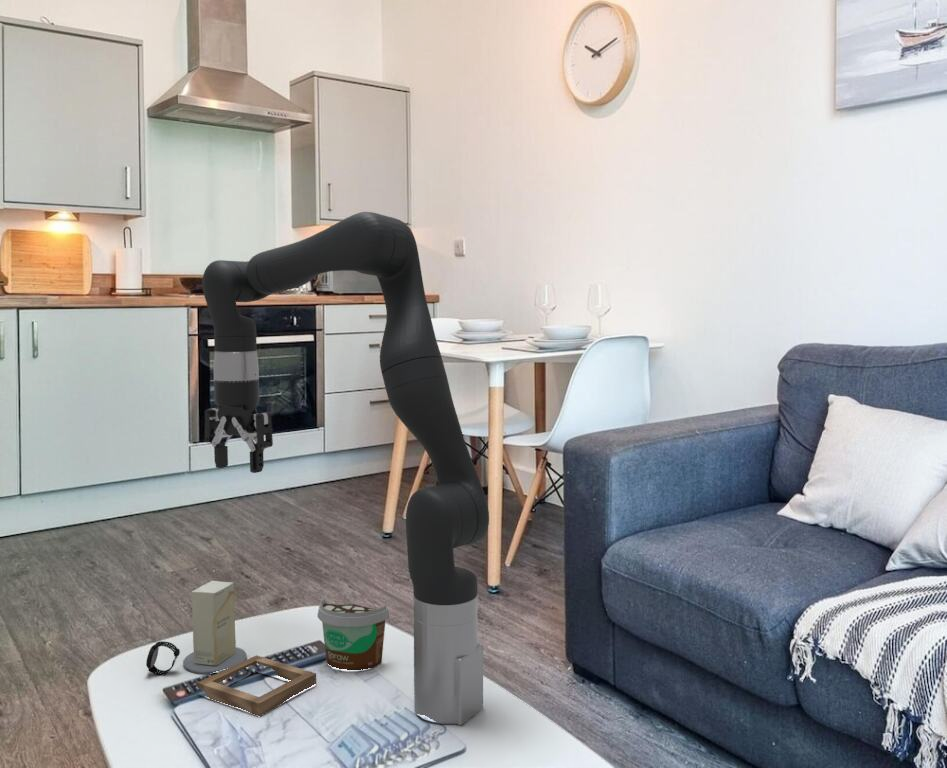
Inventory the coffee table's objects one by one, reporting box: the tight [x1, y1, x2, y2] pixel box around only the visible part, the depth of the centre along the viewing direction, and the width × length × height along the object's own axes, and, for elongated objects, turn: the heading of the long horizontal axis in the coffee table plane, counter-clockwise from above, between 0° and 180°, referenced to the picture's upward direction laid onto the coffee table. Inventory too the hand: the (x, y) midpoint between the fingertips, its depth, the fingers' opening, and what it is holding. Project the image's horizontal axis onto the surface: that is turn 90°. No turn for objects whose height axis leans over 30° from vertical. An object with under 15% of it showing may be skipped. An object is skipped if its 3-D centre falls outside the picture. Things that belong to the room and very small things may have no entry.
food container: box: [317, 597, 390, 670], centre depth 140 cm, size 12×6×10 cm, turn 73°
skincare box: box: [191, 580, 237, 666], centre depth 142 cm, size 6×4×12 cm
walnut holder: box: [196, 654, 317, 717], centre depth 131 cm, size 13×12×2 cm
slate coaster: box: [183, 646, 247, 675], centre depth 142 cm, size 10×10×1 cm
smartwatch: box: [145, 640, 181, 676], centre depth 137 cm, size 4×5×5 cm
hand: (238, 469), depth 150 cm, fingers open, 8 cm apart
